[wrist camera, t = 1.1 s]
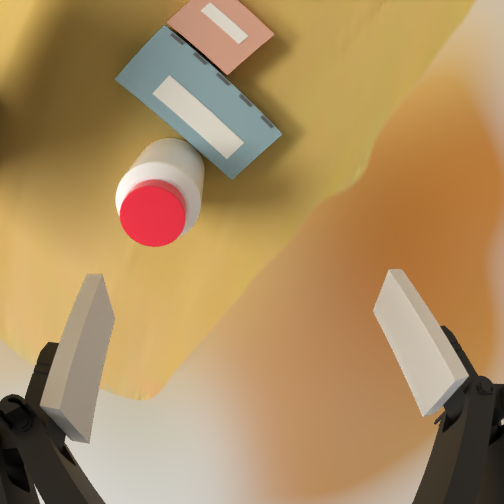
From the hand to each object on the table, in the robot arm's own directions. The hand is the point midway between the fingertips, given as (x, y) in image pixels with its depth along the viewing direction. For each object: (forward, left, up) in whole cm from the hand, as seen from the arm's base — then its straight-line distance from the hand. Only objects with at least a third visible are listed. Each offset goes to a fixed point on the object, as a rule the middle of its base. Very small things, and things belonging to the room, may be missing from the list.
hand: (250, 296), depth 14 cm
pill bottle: (-3, -6, -23) cm, 24 cm away
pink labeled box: (-10, +9, -23) cm, 27 cm away
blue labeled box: (-6, +2, -23) cm, 24 cm away
